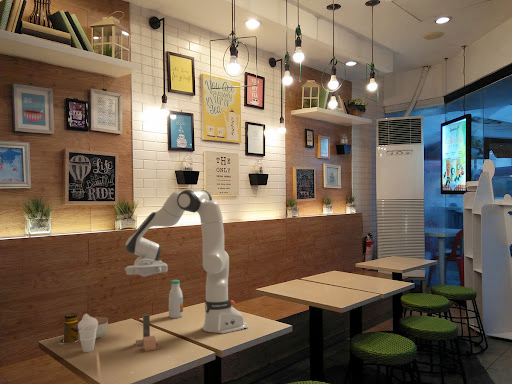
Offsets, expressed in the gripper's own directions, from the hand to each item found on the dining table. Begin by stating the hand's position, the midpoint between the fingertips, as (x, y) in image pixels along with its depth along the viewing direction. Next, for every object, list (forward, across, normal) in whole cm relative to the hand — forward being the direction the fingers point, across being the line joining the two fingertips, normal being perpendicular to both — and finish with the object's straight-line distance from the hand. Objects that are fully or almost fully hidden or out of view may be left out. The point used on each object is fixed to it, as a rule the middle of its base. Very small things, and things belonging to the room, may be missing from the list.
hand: (149, 271), depth 205 cm
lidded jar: (-7, -24, +30) cm, 39 cm away
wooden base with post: (+21, -4, +30) cm, 37 cm away
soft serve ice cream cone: (+13, -28, +30) cm, 43 cm away
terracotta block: (+26, -4, +29) cm, 39 cm away
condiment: (-5, -36, +30) cm, 47 cm away
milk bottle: (-25, +18, +30) cm, 43 cm away
